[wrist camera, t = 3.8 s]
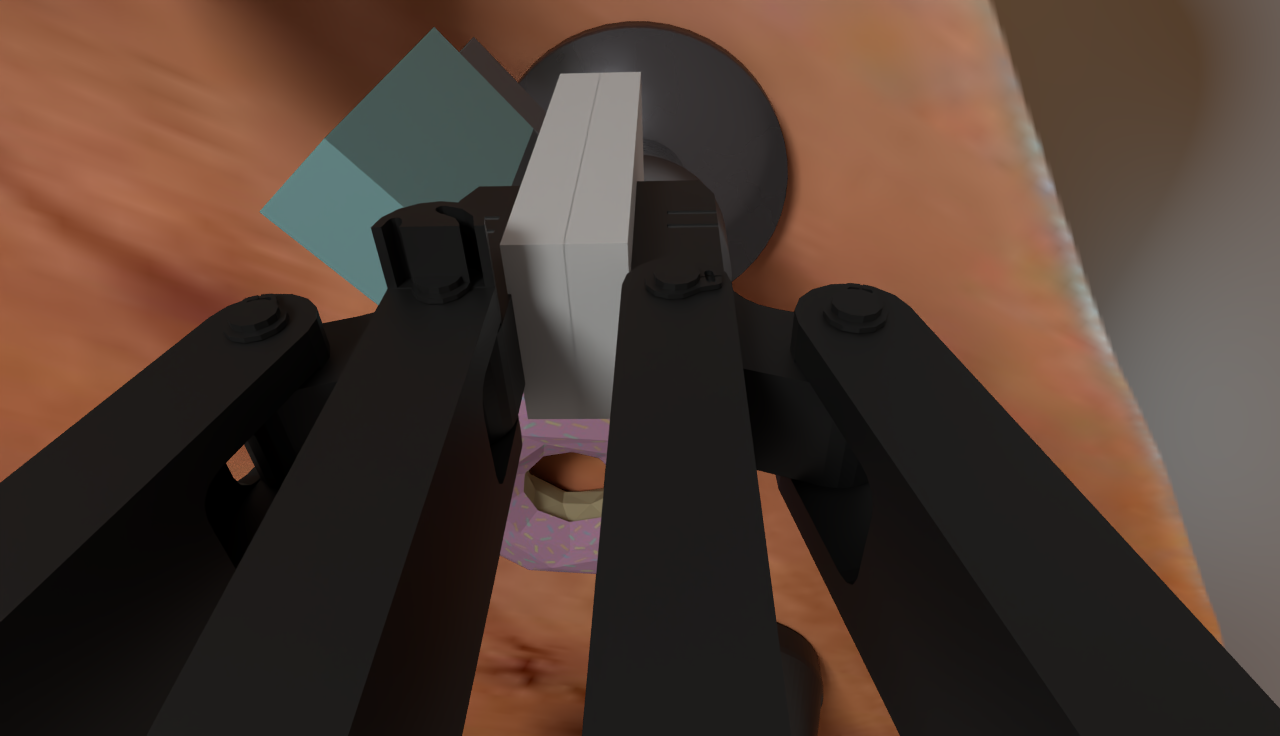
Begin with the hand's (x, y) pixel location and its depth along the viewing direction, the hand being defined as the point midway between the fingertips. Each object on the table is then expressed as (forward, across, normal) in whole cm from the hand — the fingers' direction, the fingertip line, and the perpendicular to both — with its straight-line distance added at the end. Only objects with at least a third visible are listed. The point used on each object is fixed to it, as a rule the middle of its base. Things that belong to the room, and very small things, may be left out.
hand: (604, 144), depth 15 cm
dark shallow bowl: (+18, +1, +10) cm, 20 cm away
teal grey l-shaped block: (+12, +2, +6) cm, 13 cm away
